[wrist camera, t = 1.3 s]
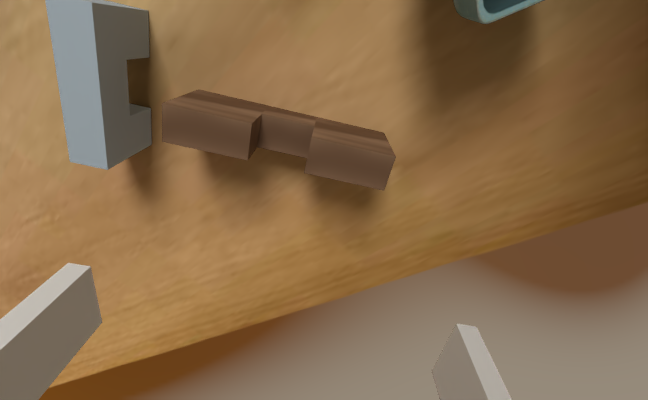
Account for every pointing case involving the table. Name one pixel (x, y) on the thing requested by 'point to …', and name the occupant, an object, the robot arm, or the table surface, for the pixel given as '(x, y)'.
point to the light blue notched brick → (99, 78)
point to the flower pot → (490, 9)
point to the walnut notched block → (278, 136)
